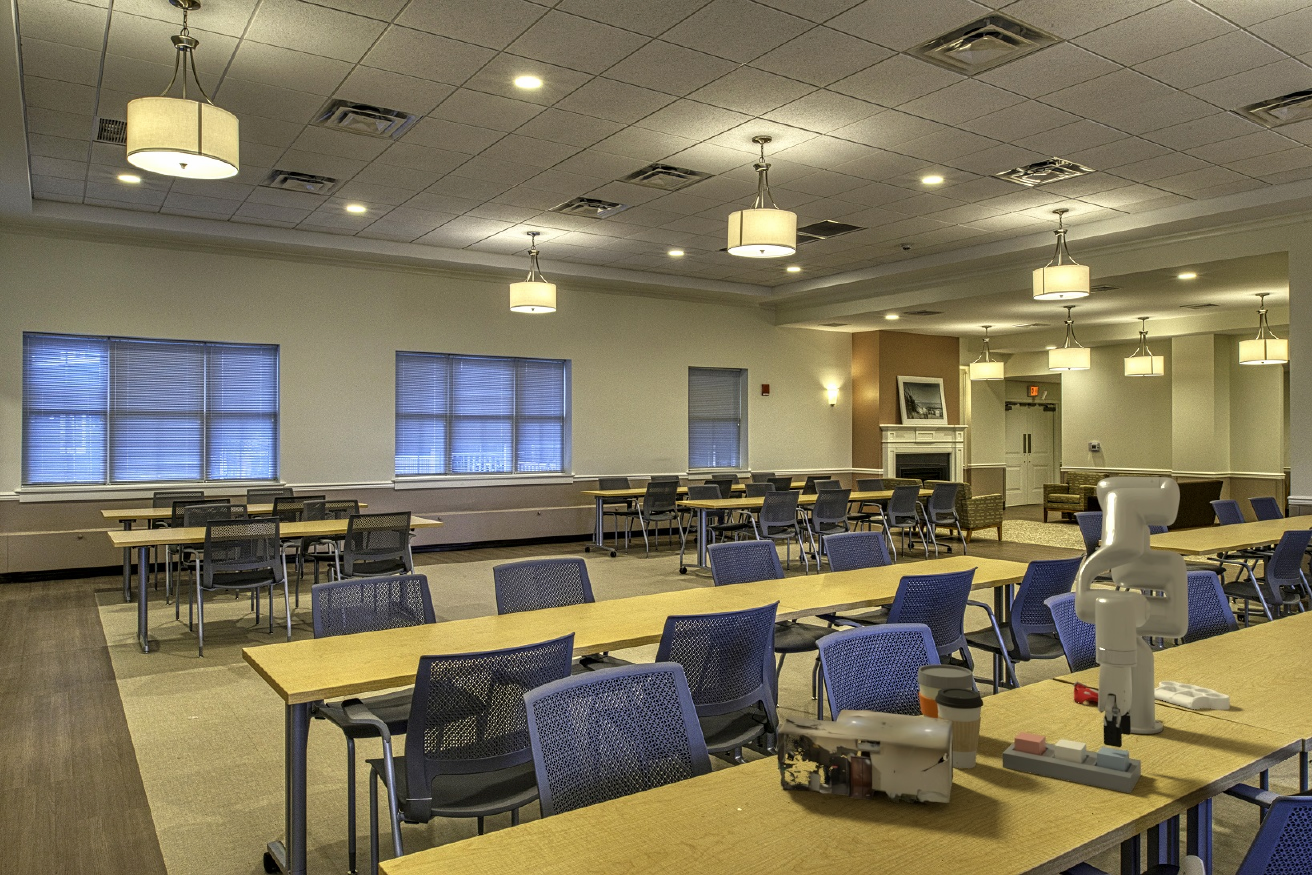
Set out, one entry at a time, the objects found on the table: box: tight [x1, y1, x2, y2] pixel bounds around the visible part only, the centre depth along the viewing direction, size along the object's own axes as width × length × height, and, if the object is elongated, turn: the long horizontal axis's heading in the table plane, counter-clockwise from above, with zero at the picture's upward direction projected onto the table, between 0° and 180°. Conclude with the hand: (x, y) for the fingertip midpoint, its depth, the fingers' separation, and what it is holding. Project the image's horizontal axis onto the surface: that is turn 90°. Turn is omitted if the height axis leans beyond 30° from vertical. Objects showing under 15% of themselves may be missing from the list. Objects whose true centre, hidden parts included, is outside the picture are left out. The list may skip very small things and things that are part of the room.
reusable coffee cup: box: [917, 664, 974, 719], centre depth 207 cm, size 13×13×15 cm
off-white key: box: [1055, 738, 1087, 764], centre depth 183 cm, size 5×5×4 cm
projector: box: [776, 709, 954, 805], centre depth 175 cm, size 18×33×13 cm, turn 69°
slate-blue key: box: [1096, 746, 1130, 772], centre depth 178 cm, size 5×5×4 cm
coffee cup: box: [935, 688, 984, 769], centre depth 188 cm, size 10×10×15 cm
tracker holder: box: [1072, 681, 1099, 705], centre depth 234 cm, size 12×4×10 cm
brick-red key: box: [1014, 731, 1047, 756], centre depth 188 cm, size 5×5×4 cm
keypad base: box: [1002, 741, 1142, 794], centre depth 183 cm, size 12×24×3 cm, turn 52°
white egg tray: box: [1155, 680, 1231, 711], centre depth 232 cm, size 3×18×15 cm
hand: (1117, 739), depth 182 cm, fingers open, 9 cm apart
